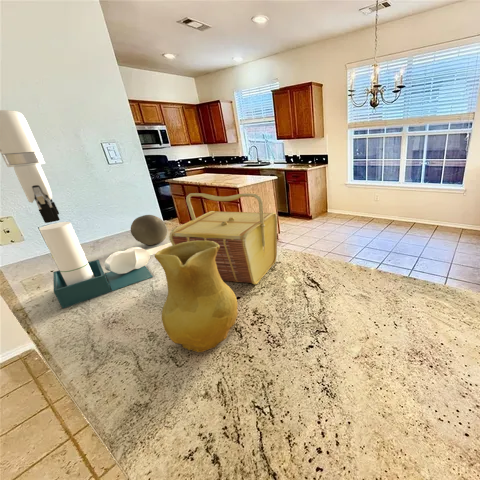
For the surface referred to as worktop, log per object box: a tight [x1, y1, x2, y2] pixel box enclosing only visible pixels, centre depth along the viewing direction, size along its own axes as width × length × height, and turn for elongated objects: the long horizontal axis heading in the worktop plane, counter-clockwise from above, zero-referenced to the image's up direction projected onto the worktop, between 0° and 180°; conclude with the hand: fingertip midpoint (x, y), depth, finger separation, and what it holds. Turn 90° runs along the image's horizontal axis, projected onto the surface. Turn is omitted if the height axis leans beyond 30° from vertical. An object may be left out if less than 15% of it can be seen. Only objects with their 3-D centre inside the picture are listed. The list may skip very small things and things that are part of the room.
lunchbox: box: [52, 259, 154, 309], centre depth 95 cm, size 25×18×7 cm
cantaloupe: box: [130, 214, 168, 246], centre depth 126 cm, size 14×14×15 cm
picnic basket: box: [168, 192, 278, 286], centre depth 94 cm, size 29×26×30 cm
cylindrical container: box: [38, 221, 95, 286], centre depth 85 cm, size 7×7×25 cm
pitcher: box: [153, 240, 239, 353], centre depth 65 cm, size 17×19×25 cm
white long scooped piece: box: [103, 242, 172, 274], centre depth 112 cm, size 38×8×4 cm
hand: (52, 218), depth 80 cm, fingers open, 9 cm apart
